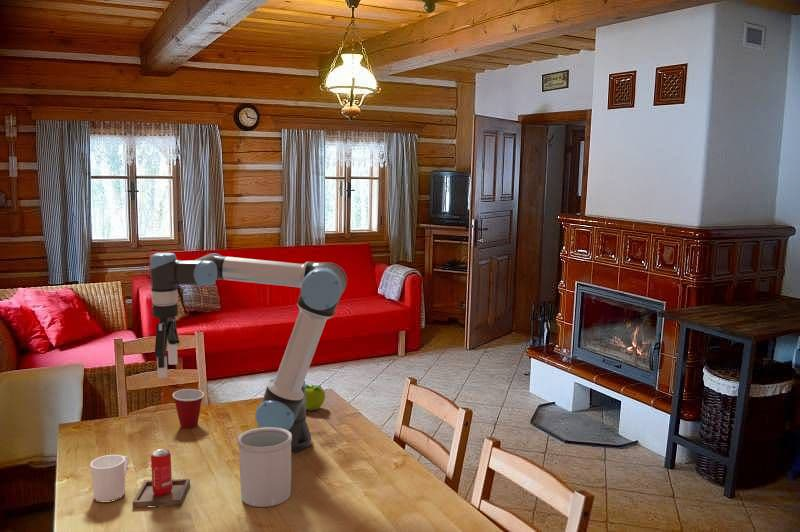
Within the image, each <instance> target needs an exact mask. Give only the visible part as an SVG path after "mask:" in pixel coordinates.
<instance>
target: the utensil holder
mask: <svg viewBox="0 0 800 532" xmlns="http://www.w3.org/2000/svg"><path fill="white" fill-rule="evenodd" d="M291 441H292V434H291V433H290V432H289V431H287V430H285V429H281V428H273V427H264V428H260V427H257V428H252V429H248V430H246V431H244V432H242V433H241V434H240V435H238V437H237V445H238V457H239V458H238V459H239V480H240V481H239V482H240V497H241V500H242V502H243V503H244V504H246V505H247V506H251V507H255V508H256V507H257V508H268V507H273V506H277V505H280V504H283V503H285V502H286V501H287V500H288V499H289V498H290V496H291V489H292V486H291V484H292V453H291Z"/></svg>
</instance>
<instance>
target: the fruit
mask: <svg viewBox="0 0 800 532" xmlns="http://www.w3.org/2000/svg"><path fill="white" fill-rule="evenodd" d="M305 386H306V388H305V394H306V410H308V411H316V410H318V409H319V408H321V406H322V405H323V404H324V402H325V400H326V393H325V392H326V391H324V389H323V387H322V385H314V384H311V385H309V384H306V383H305Z"/></svg>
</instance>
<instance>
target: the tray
mask: <svg viewBox="0 0 800 532" xmlns="http://www.w3.org/2000/svg"><path fill="white" fill-rule="evenodd" d="M190 486H191V479H190V478H180V479H179V478H178V479H174V478H173V479H172V490H171V493H170V494H169V495H167V496H163V497H157V496H155V495H154V492H153V487H152V479H150V480H146V479H145V480H144V482H143V483H142V485H141V487H140V488H139V490H138V492H137V493H136V495H135V497H134V499H133V500H132V501H131V502H132V503H131V504H132V508H133V507H148V506H173V507H181V506H182V503H183V501H184V499H185V497H186V495H187V492H188V490H189V488H190ZM148 508H149V507H148Z"/></svg>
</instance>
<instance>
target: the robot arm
mask: <svg viewBox="0 0 800 532" xmlns="http://www.w3.org/2000/svg"><path fill="white" fill-rule="evenodd" d="M149 261H150V262H149V264H150V265H149V267H150V268H149V271H150V285H151V288H150V289H151V293H149V296H150V297H151V302H152V306H151V309H152V310H151V312H152V314H151V315H152V317H153V318H154V319H155V318H156V319H158V320H159V321H158V323H156V325H155V329H156V331H155V342H154V343H155V344H154V354H153V358H156V366H157V367H156V370H157V371H156V373H157V379H167V378H168V377H169V376H168V375H169V374H168V365H172V366H173V365H178V362H179V361H178V359H179V358H178V344H180V339H179V334H178V329H177V324H176V317H177V316H178V315H179V304H178V303H177V302H179V297H178V296H179V295H178V286H181V285H182V286H201V287H205V286H212V285H215V283H216V281H217V280H223V281H224V280H225V281H235V282H243V283H253V284H255V283H256V284H263V285H273V286H284V287H291V288H292V287H294V288H300V293H299V296H298V299H297V302H296V306H297V307H298V309H299V311H298V314H297V316H296V319H295V323H294V326H293V328H292V332H291V334H290V337H289V339H288V342H287V345H286V348H285V351H284V354H283V356H282V359H281V361H280V364H279V366H278V367H279V368H278V370H277V373H276V375H275V376H274V377H272V378H270V379H269V382H268V383H267V386H266V389H265V392H264V393H263V394H264V395H263V397H262V400H261V402H260V404H259V405H258V406H257V408H256V411H255V421H256V424H257V426H258V428H264V427H273V428H281V429H285V430H287V431H289V432H290V433H291V434H292V441H291V454H292V453H297V452H298V453H299V452H302V451H304V450H307V449H308V448H310V446H311V445H312V434H311V431H310V429H309V426H308V423H307V417H306V416H307V415H306V414H307V413H306V410H307V409H306V394H305V388H306V386H305V384H306V381H305V379H306V377H307V375H308V371H309V368H310V366H311V363H312V360H313V358H314V356H315V353H316V351H317V347H318V344H319V341H320V338H321V336H322V333H323V331H324V328H325V325H326V322H327V320H329V319H331V318H333V317H334V315H335V312H336V310H337V307H338V304H339V301H340V299H341V297H342V294H343V293H344V292H345V290H346V288H347V284H348V277H347V274H346V272H345V270H344V269H343V267H341V266H340V265H338V264H336V263H334V262H327V261H326V262H324V261H322V262H320V261H319V262H318V261H306V262H304V263H294V262H286V261H276V260H264V259H254V258H246V257H245V258H244V257H237V256H236V257H234V256H225V255H224V256H223V255H221V254H219V253H214V252H213V253H207V254H205V255H204V256H201V257H199V258H196V259H194V260H193V259H192V260H189V259H187V260H183V259H182V260H181V259H177V256H176V254H175V253H174V252H173V253H172V252H156V253H153V254H151V256H150V259H149ZM166 354H167V355H166Z"/></svg>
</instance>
